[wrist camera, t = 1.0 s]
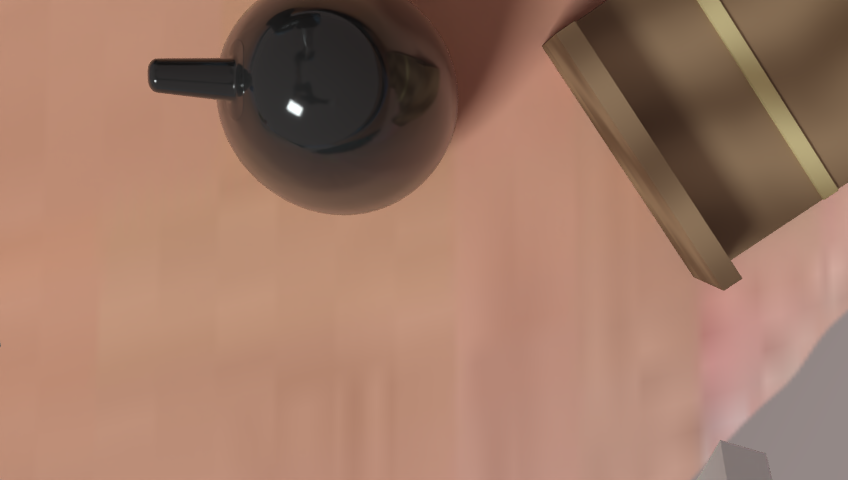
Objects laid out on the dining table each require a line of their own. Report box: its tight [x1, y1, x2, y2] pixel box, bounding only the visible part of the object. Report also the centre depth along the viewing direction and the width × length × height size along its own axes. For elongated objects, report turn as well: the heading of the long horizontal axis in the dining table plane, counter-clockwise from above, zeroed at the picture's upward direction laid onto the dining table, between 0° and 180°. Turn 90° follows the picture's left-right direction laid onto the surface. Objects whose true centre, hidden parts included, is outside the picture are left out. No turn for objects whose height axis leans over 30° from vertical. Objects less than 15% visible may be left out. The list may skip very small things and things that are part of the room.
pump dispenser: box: [148, 0, 458, 215], centre depth 31 cm, size 10×10×15 cm
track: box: [542, 0, 848, 291], centre depth 36 cm, size 14×15×4 cm
